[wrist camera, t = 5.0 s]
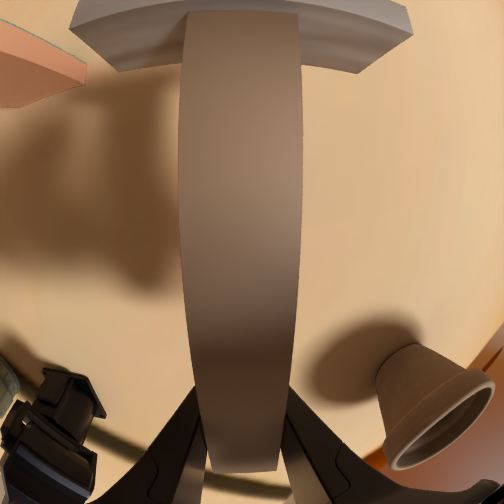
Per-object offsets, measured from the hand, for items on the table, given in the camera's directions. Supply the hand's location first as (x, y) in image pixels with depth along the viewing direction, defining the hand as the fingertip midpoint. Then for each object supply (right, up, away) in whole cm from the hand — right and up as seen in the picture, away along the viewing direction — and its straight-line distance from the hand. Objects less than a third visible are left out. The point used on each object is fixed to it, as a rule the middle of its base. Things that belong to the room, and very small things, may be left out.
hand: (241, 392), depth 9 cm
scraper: (0, +4, 0) cm, 4 cm away
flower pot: (+16, -7, +15) cm, 23 cm away
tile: (-15, +17, +4) cm, 23 cm away
